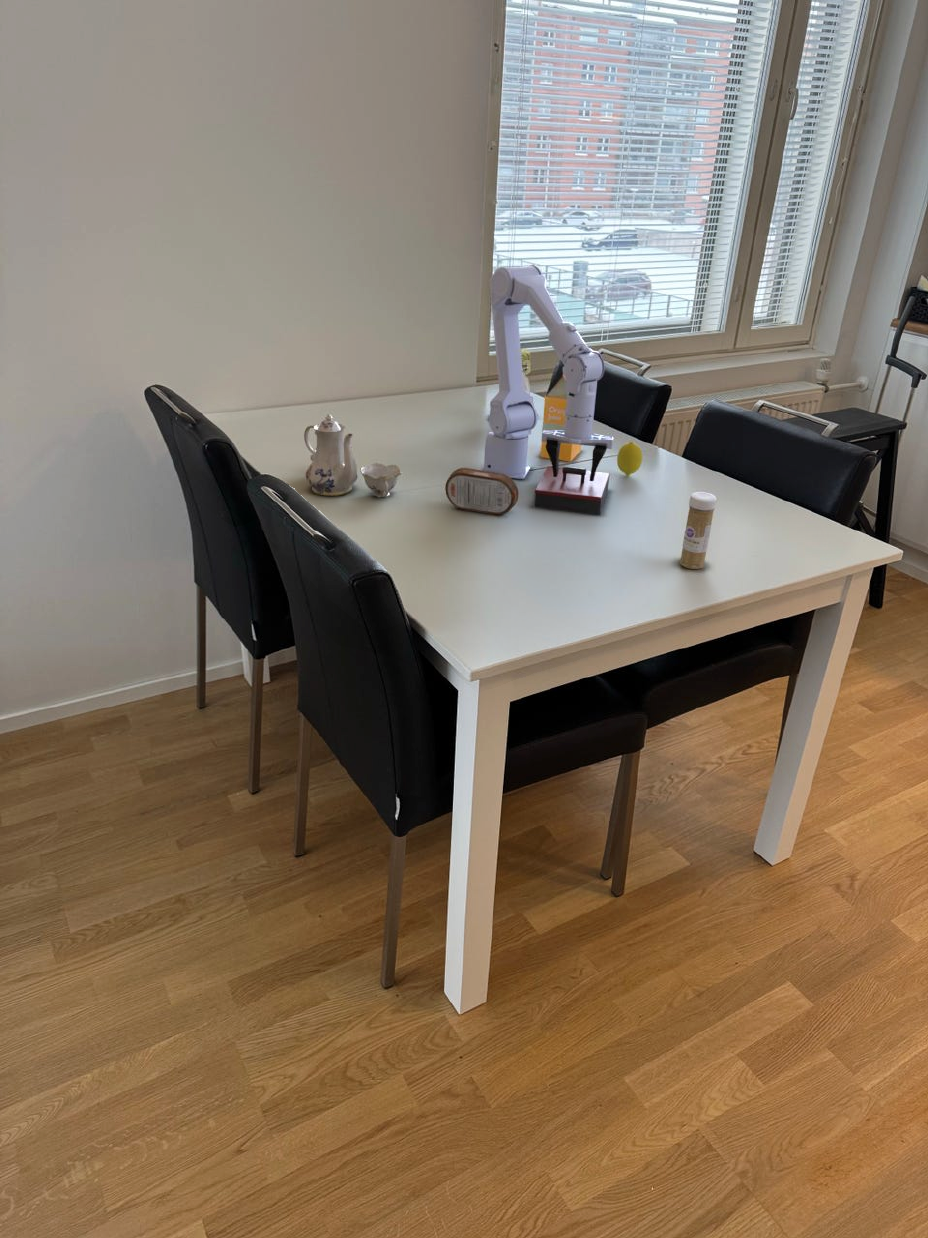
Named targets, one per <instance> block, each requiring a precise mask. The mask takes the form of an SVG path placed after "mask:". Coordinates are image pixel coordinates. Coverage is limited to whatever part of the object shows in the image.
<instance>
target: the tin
mask: <svg viewBox="0 0 928 1238" xmlns="http://www.w3.org/2000/svg"><path fill="white" fill-rule="evenodd" d="M444 487H445V489H444V490H445V495H446V498H447V499H448V501H449V502H450V504H451V505H453V506H454V507H456V508H458V509H460V510H465V511H471V512H476V513H482V514H487V515H488V514H489V515H493V516H502V515H505V514H506V513H509V512H510V511H511V510H512V508H514V507H515V505H516V504H517V502H518V499H519V488H518V486H517V484H516V482H515V481H514V480H513V478H510V477H508V476H507V475H504V474H501V473H495V472H489V471H484V470H482V469H476V468H470V467H461V468H457V469H455V470H454V471H453V472H452V473H451V474H450V476H449V477H448V478H447V480H446V482H445V486H444Z"/></svg>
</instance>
